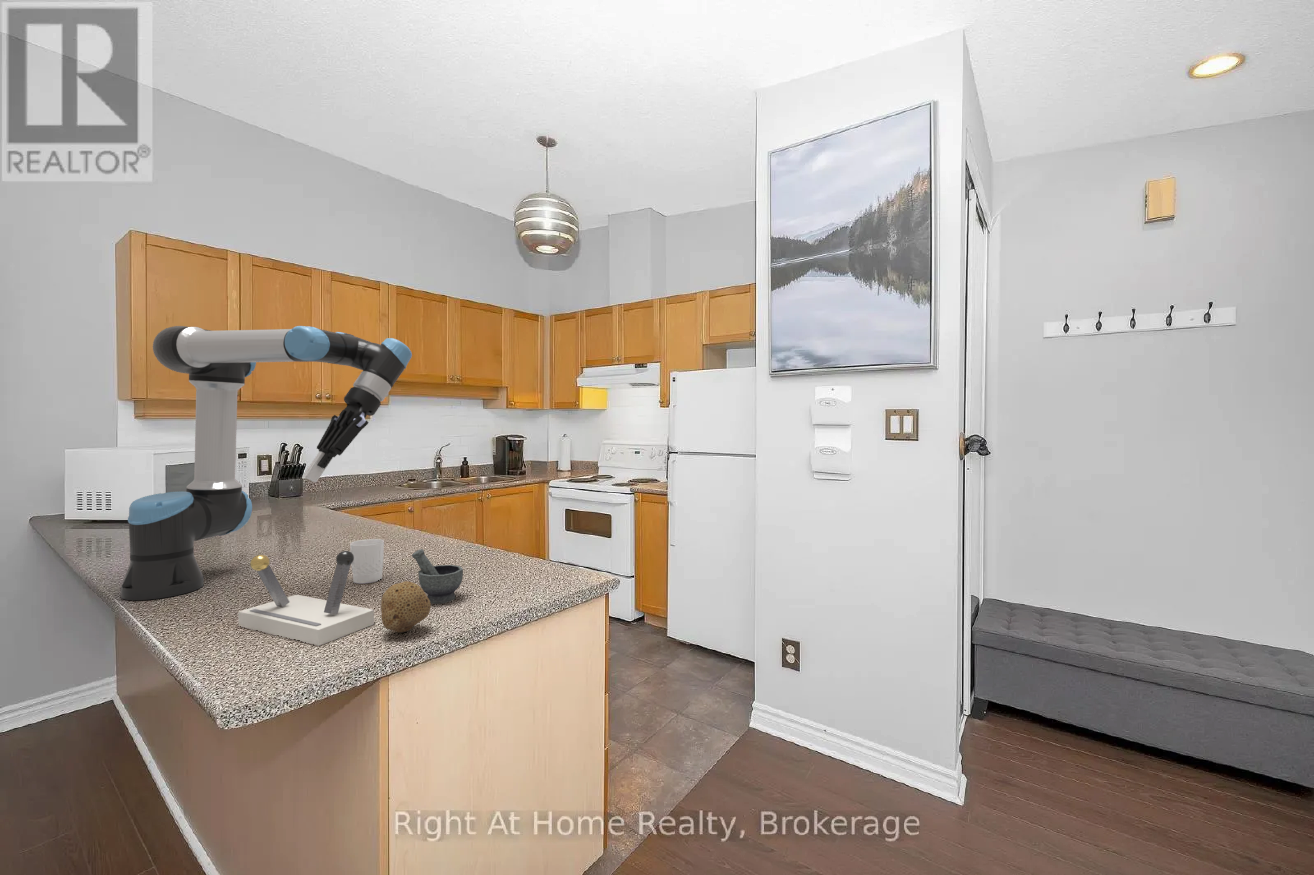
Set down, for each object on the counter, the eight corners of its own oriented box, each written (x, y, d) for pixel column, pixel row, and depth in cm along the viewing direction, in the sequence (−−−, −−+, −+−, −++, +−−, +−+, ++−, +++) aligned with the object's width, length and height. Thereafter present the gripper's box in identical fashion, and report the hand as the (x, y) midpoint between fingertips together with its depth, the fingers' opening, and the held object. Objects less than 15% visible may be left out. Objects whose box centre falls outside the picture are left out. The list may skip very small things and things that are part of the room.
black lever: (332, 612, 114) (348, 550, 117) (343, 614, 112) (359, 552, 116) (318, 611, 111) (334, 549, 114) (329, 614, 110) (345, 550, 113)
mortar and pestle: (465, 592, 137) (465, 543, 136) (460, 604, 128) (459, 552, 127) (416, 594, 135) (416, 545, 134) (407, 607, 125) (406, 554, 125)
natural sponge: (435, 622, 116) (434, 575, 116) (424, 639, 108) (424, 588, 107) (388, 624, 115) (388, 576, 115) (373, 642, 106) (373, 590, 106)
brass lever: (285, 597, 119) (258, 550, 114) (295, 599, 118) (269, 552, 113) (271, 608, 116) (243, 560, 111) (281, 610, 115) (253, 562, 110)
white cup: (390, 576, 150) (390, 539, 149) (372, 585, 142) (372, 546, 142) (362, 575, 151) (362, 538, 150) (343, 584, 143) (343, 545, 142)
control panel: (296, 607, 125) (296, 593, 125) (374, 624, 115) (373, 608, 115) (238, 626, 114) (238, 610, 114) (318, 646, 104) (318, 628, 104)
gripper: (394, 403, 135) (337, 489, 125) (365, 403, 143) (310, 484, 133) (368, 385, 130) (307, 473, 120) (340, 385, 138) (281, 468, 128)
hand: (309, 479), depth 127 cm, fingers closed
